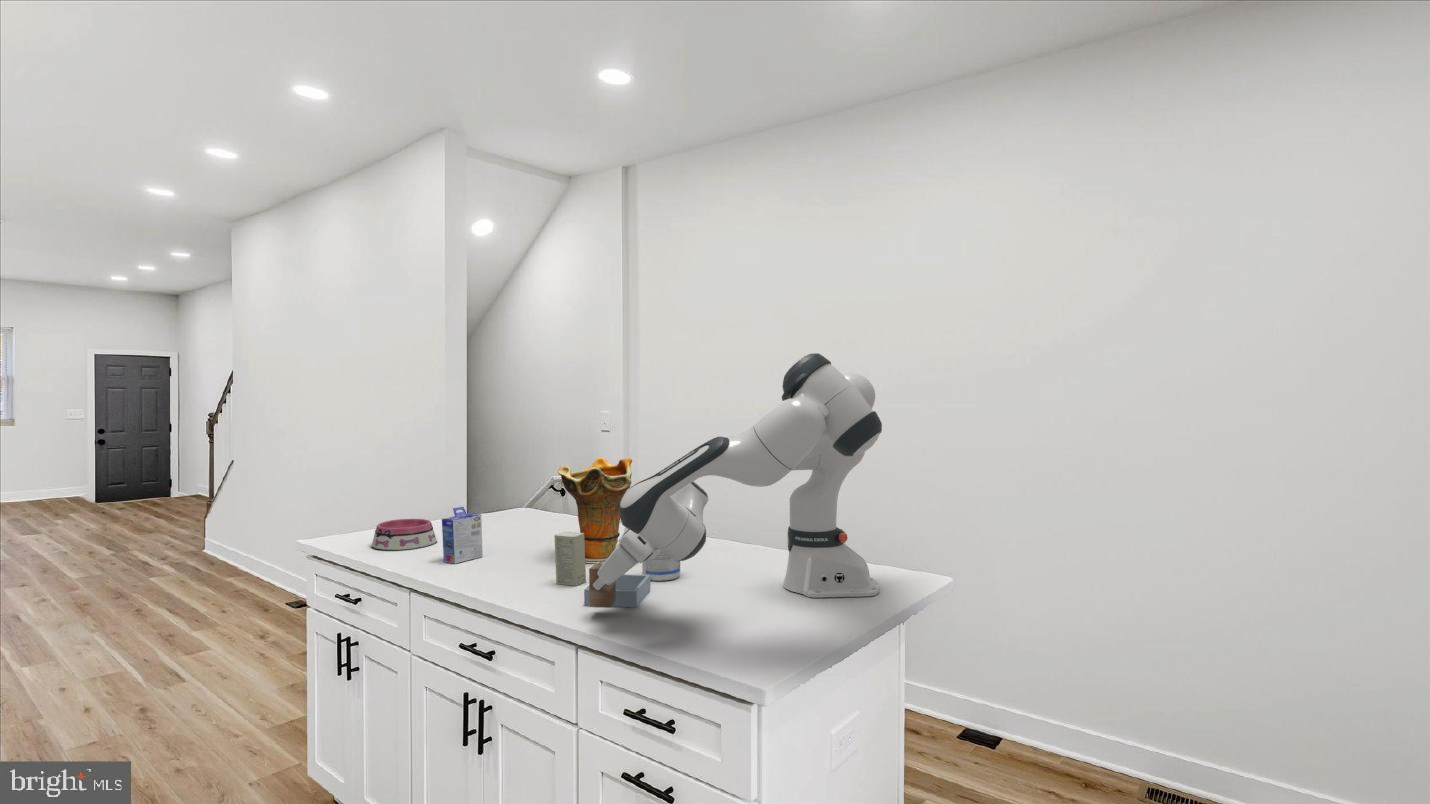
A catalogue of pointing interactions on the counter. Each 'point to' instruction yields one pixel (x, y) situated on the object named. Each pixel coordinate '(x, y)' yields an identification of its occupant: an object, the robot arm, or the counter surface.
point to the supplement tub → (661, 568)
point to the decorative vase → (598, 503)
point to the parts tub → (627, 590)
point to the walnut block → (602, 596)
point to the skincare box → (570, 558)
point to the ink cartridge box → (462, 537)
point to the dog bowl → (403, 535)
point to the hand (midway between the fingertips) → (599, 583)
